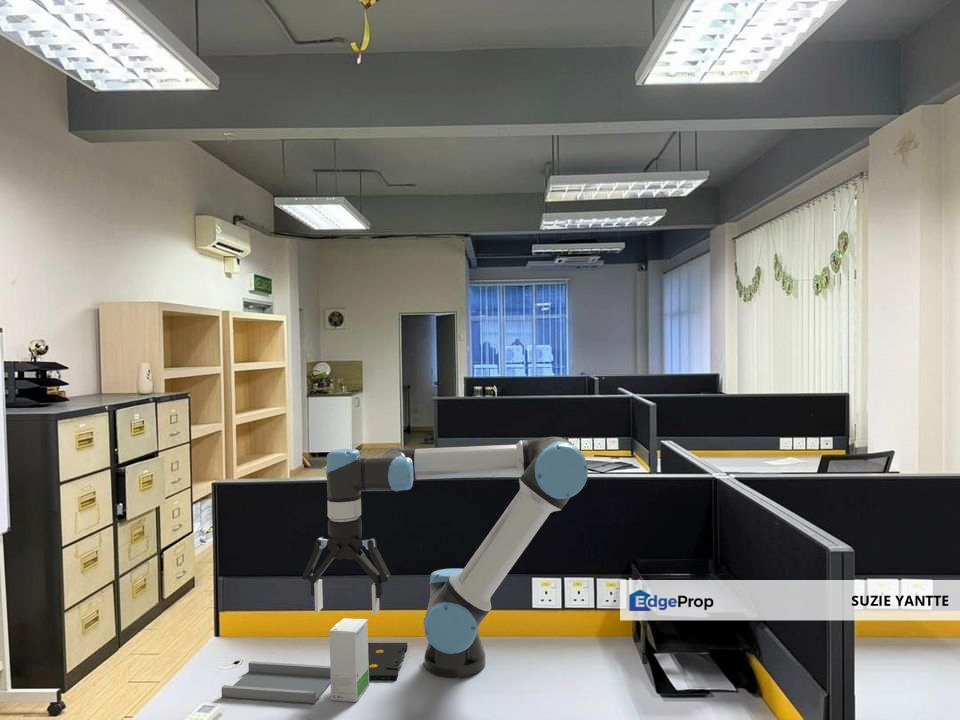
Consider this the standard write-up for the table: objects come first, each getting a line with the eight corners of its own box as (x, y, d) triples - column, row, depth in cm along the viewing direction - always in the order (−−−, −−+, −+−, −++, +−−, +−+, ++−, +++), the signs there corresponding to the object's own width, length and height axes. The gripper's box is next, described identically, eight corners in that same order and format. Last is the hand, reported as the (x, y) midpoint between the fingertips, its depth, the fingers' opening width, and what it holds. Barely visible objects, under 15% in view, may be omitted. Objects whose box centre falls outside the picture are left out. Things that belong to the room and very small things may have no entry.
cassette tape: (396, 683, 156) (396, 674, 156) (347, 683, 156) (347, 674, 156) (407, 649, 174) (407, 641, 174) (364, 649, 174) (364, 641, 174)
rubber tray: (336, 676, 158) (336, 666, 158) (314, 704, 146) (313, 693, 146) (250, 670, 162) (250, 661, 162) (221, 697, 149) (221, 687, 149)
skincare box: (356, 703, 146) (355, 632, 146) (328, 700, 147) (327, 630, 147) (370, 685, 154) (369, 618, 154) (343, 682, 155) (342, 616, 155)
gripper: (402, 514, 152) (404, 606, 152) (300, 513, 156) (302, 602, 157) (392, 522, 145) (395, 619, 145) (285, 521, 149) (288, 615, 149)
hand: (347, 610), depth 151 cm, fingers open, 13 cm apart
